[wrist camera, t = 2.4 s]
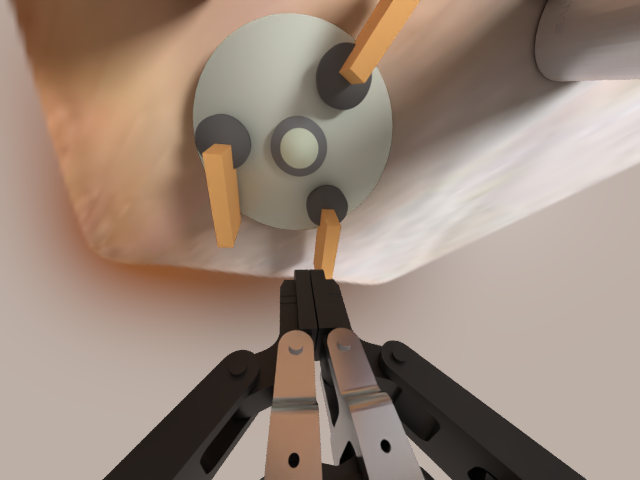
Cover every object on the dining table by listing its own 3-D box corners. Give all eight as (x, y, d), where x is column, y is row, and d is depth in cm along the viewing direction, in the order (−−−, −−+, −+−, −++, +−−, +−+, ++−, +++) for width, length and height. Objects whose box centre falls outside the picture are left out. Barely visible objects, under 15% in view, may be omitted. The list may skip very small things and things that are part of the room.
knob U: (345, 119, 19) (360, 127, 15) (305, 86, 17) (311, 84, 14) (432, -9, 16) (479, -40, 12) (392, -67, 14) (433, -125, 10)
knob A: (195, 111, 17) (171, 116, 14) (249, 116, 18) (241, 123, 14) (213, 221, 22) (199, 247, 19) (255, 222, 23) (250, 247, 19)
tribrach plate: (407, 40, 19) (427, 31, 16) (364, 223, 28) (372, 236, 25) (180, 0, 16) (160, -18, 13) (215, 219, 25) (207, 234, 22)
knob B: (307, 183, 22) (312, 203, 18) (348, 186, 22) (361, 205, 19) (301, 262, 27) (304, 290, 23) (334, 262, 27) (343, 289, 24)
